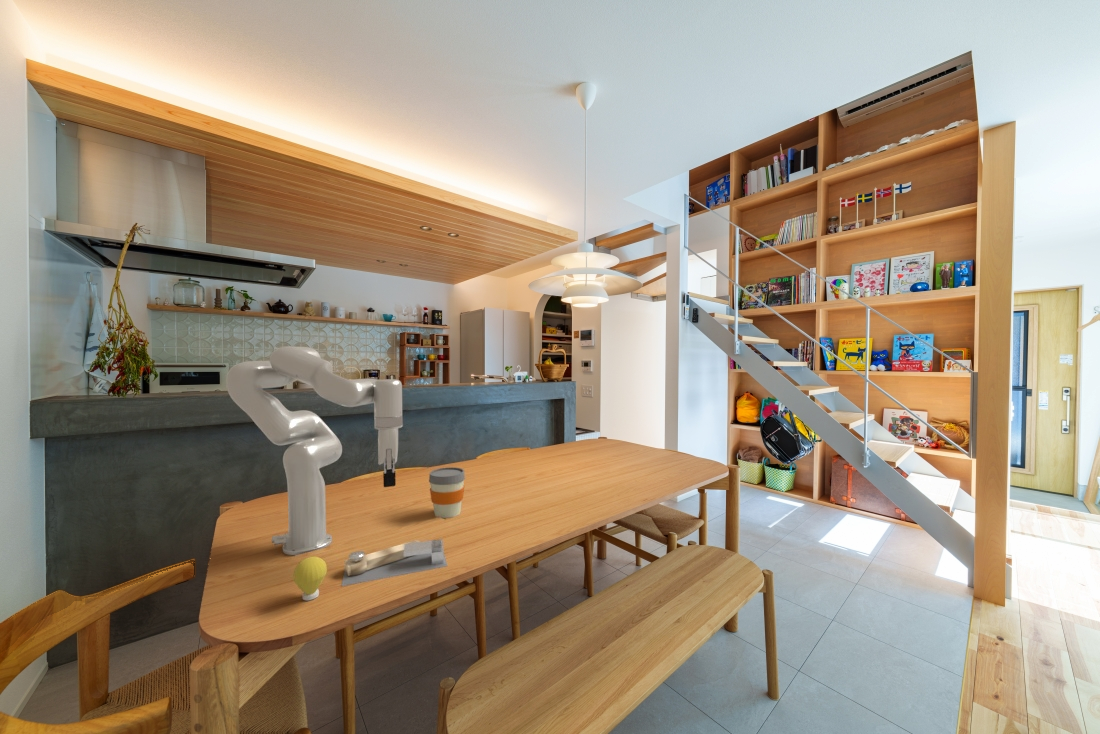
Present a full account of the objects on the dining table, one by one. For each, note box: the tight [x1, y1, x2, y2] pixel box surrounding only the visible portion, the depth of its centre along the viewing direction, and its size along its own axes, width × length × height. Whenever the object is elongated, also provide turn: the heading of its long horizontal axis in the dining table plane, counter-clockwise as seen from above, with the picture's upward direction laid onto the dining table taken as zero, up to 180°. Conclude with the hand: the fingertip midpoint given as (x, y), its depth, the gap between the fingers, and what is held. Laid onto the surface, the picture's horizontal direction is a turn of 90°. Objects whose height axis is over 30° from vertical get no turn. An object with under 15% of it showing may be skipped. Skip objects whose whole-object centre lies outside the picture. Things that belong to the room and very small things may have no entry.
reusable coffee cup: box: [428, 466, 466, 519], centre depth 145 cm, size 13×13×15 cm
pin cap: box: [348, 550, 365, 562], centre depth 104 cm, size 4×4×1 cm
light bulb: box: [292, 556, 328, 601], centre depth 93 cm, size 7×7×10 cm
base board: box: [340, 550, 448, 587], centre depth 108 cm, size 25×14×1 cm, turn 111°
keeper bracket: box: [404, 538, 444, 565], centre depth 109 cm, size 10×5×4 cm, turn 106°
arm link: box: [344, 539, 420, 576], centre depth 108 cm, size 19×5×2 cm, turn 129°
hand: (389, 485), depth 116 cm, fingers closed
